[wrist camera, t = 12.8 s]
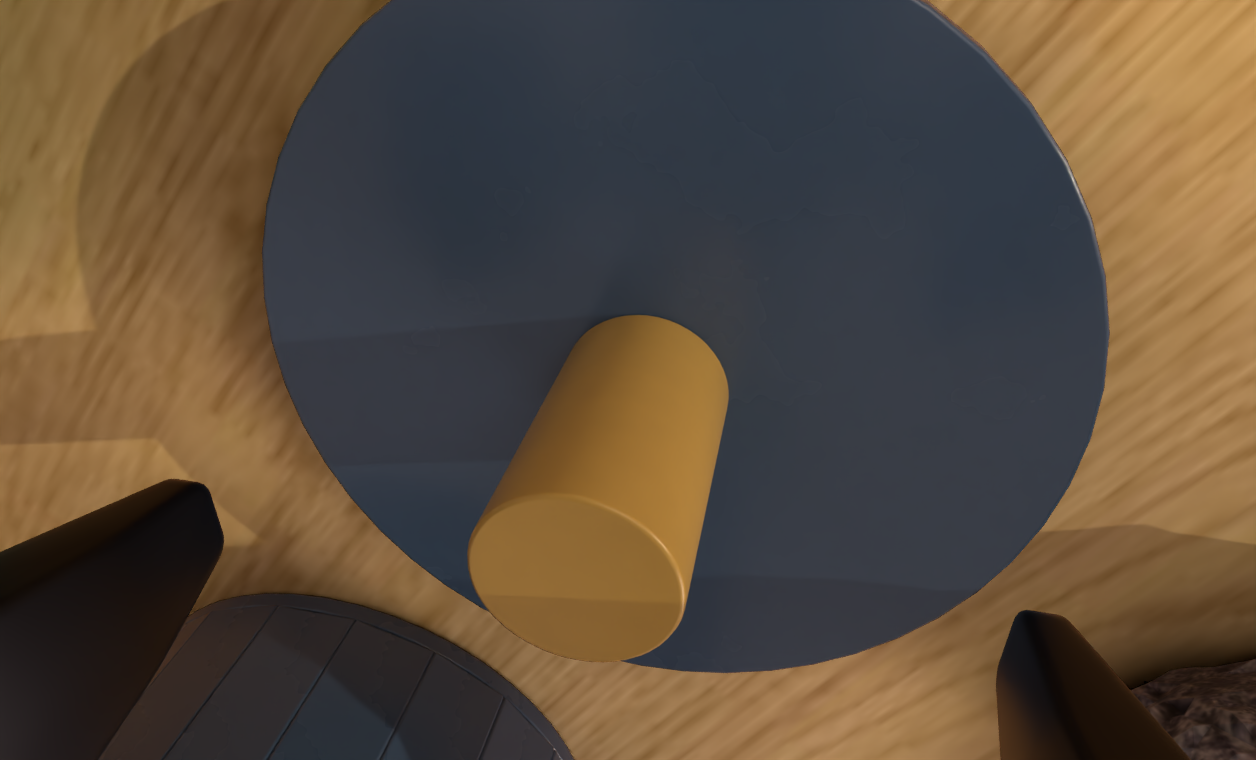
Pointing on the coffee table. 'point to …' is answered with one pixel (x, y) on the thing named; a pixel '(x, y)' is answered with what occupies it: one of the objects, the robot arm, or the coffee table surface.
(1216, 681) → the pumice stone
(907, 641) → the coffee table surface
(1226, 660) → the coffee table surface
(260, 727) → the tin
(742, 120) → the tin lid
